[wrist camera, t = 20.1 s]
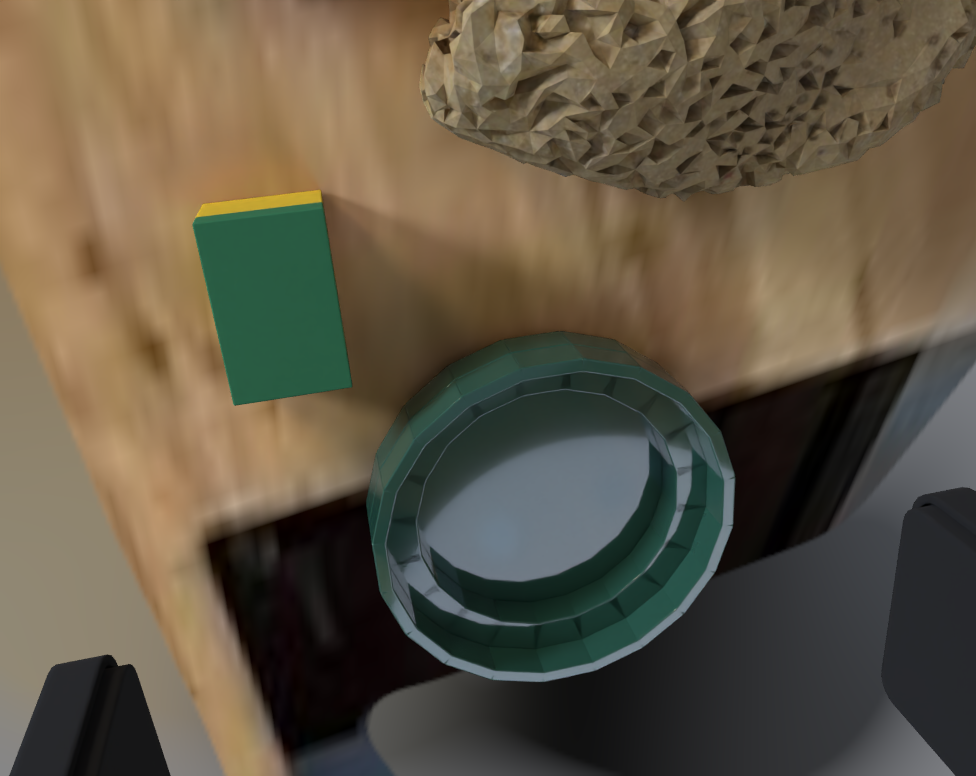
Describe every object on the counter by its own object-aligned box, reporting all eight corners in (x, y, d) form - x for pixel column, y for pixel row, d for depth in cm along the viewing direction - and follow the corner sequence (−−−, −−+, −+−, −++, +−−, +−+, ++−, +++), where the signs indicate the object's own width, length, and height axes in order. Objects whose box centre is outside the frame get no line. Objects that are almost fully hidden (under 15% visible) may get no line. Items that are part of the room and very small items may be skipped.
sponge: (413, 149, 34) (874, 261, 36) (402, 125, 27) (990, 268, 28) (485, -200, 32) (973, -64, 34) (497, -337, 24) (1127, -152, 26)
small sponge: (202, 203, 32) (192, 223, 29) (320, 189, 33) (323, 207, 30) (239, 371, 35) (233, 406, 32) (347, 355, 36) (352, 388, 33)
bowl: (342, 357, 36) (347, 395, 32) (700, 303, 38) (742, 333, 35) (391, 655, 43) (399, 713, 39) (693, 592, 45) (728, 642, 41)
